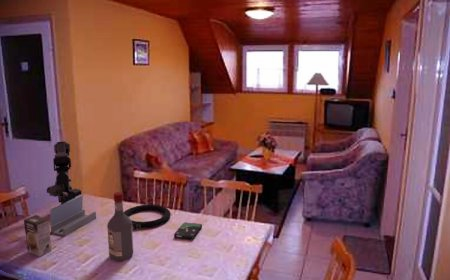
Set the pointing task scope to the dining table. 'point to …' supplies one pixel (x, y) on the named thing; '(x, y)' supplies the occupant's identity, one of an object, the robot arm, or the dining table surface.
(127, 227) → the liquor
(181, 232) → the disk drive
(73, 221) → the grey tray with bar
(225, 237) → the dining table surface
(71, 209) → the cover
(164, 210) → the cable lock
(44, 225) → the coffee box
